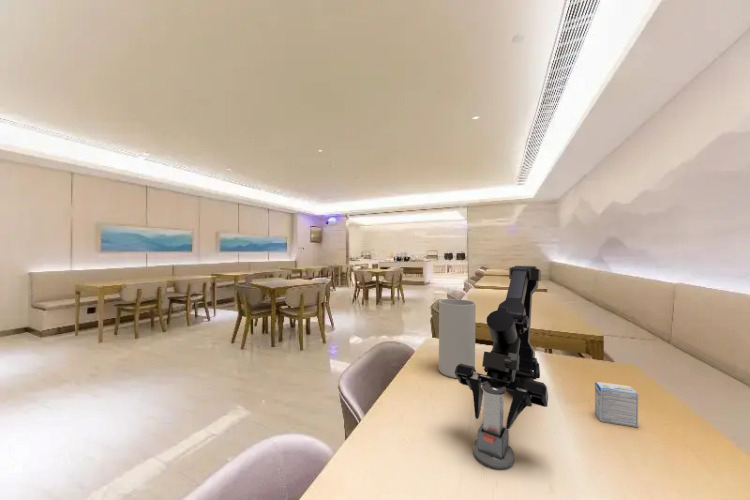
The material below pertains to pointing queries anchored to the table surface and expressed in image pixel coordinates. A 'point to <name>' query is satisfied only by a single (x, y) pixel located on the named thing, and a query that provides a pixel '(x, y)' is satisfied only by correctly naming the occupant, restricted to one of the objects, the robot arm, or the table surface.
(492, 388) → the column
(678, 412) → the table surface
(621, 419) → the medicine box
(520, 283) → the robot arm
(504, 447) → the stand
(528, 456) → the table surface
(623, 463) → the table surface
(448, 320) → the cylinder vase
